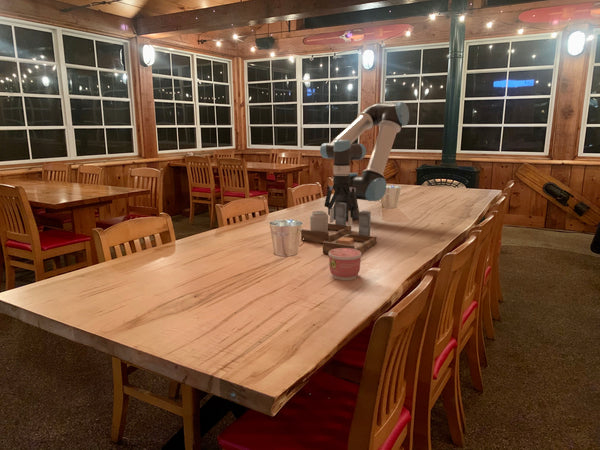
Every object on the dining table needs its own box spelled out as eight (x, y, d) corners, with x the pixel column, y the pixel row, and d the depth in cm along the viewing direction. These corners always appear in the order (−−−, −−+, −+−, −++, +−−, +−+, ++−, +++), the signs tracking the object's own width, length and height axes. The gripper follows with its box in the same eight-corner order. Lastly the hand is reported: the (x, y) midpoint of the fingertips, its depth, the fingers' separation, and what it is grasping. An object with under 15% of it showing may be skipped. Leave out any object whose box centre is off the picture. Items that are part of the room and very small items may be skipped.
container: (327, 270, 147) (328, 247, 145) (359, 270, 146) (359, 247, 144) (328, 281, 136) (329, 257, 135) (362, 281, 136) (363, 257, 134)
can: (327, 242, 182) (327, 213, 179) (309, 241, 183) (309, 213, 180) (328, 237, 189) (328, 210, 186) (311, 237, 190) (311, 210, 187)
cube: (340, 249, 172) (341, 237, 170) (353, 250, 170) (353, 238, 169) (337, 252, 167) (337, 240, 166) (350, 254, 165) (350, 241, 164)
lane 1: (330, 226, 208) (330, 201, 206) (354, 229, 202) (355, 204, 199) (301, 239, 185) (301, 212, 182) (327, 243, 179) (327, 214, 176)
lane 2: (352, 236, 189) (353, 209, 186) (379, 240, 183) (380, 212, 180) (322, 253, 166) (323, 222, 163) (352, 257, 159) (353, 226, 157)
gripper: (316, 174, 200) (316, 222, 205) (360, 176, 189) (359, 227, 195) (324, 172, 206) (323, 219, 211) (367, 175, 196) (365, 224, 201)
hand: (340, 223), depth 203 cm, fingers open, 9 cm apart
